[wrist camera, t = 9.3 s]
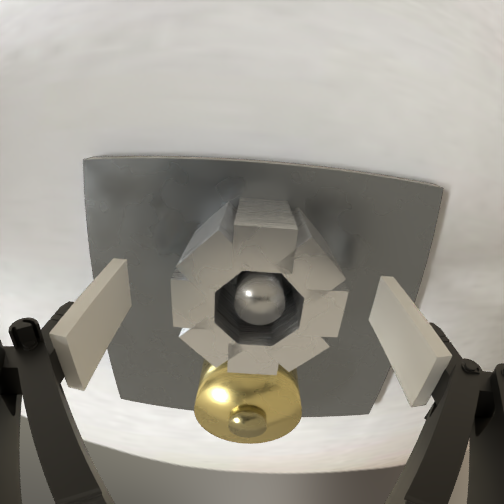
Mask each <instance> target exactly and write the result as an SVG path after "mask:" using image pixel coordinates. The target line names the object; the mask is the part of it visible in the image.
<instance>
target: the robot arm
mask: <svg viewBox="0 0 504 504" xmlns="http://www.w3.org/2000/svg"><path fill="white" fill-rule="evenodd" d="M131 306H132V303H131V295H130V287H129V278H128V268H127V259H116V258H113V259H112V260H111V262H110V263H109V264H108V265H107V266H106V267H105V268H104V269H103V270H102V271H101V273H100V274H99V275H98V276H97V277H96V278H95V279H94V280H93V282H92V283H91V284H90V285H89V286H88V287H87V288H86V290H85V291H84V292H83V293H82V294H81V295H80V296H79V298H78V299H77V300H76V301H75V302H70V301H69V302H68V303H66V304H64V305H63V306H61V307H60V308H59V309H58V310H57V311H56V313H55V315H53V316H52V317H51V320H49V321H48V322H47V323H46V324H45V326H44V327H43V328H42V329H40V326H39V323H38V321H37V320H35V319H34V318H22V319H19V320H17V321H15V322H14V323H12V325H11V326H10V327H9V334H10V337H11V339H12V342H13V345H14V346H3V345H2V343H1V340H0V504H22V499H21V488H20V487H21V486H20V466H19V465H20V463H19V437H20V415H21V401H22V395H23V399H24V404H25V409H26V413H27V417H28V421H29V425H30V429H31V433H32V437H33V440H34V443H35V447H36V450H37V453H38V457H39V460H40V463H41V466H42V469H43V472H44V475H45V477H46V480H47V483H48V485H49V488H50V490H51V493H52V496H53V498H54V501H55V503H56V504H115V502H114V501H113V499H112V497H111V495H110V494H109V492H108V490H107V488H106V486H105V485H104V483H103V481H102V479H101V477H100V475H99V473H98V471H97V469H96V467H95V465H94V463H93V461H92V459H91V457H90V455H89V453H88V451H87V449H86V446H85V444H84V442H83V440H82V437H81V435H80V433H79V430H78V428H77V425H76V423H75V421H74V418H73V416H72V413H71V410H70V408H69V405H68V402H67V400H66V397H65V394H64V391H63V388H62V386H61V384H60V383H61V382H62V380H63V378H64V377H65V380H66V382H67V385H68V387H70V388H74V389H78V390H82V391H84V390H85V388H86V387H87V385H88V383H89V381H90V379H91V377H92V375H93V373H94V371H95V369H96V368H97V366H98V364H99V362H100V360H101V358H102V357H103V355H104V353H105V351H106V349H107V348H108V346H109V344H110V342H111V340H112V339H113V337H114V335H115V333H116V332H117V330H118V328H119V326H120V325H121V323H122V321H123V319H124V318H125V316H126V314H127V313H128V311H129V309H130V308H131ZM369 322H370V324H371V326H372V327H373V329H374V331H375V333H376V335H377V337H378V339H379V341H380V343H381V345H382V347H383V349H384V351H385V353H386V355H387V357H388V359H389V361H390V364H391V366H392V368H393V370H394V372H395V374H396V376H397V378H398V380H399V382H400V385H401V387H402V389H403V391H404V393H405V395H406V398H407V400H408V402H409V404H410V406H411V407H416V406H423V405H426V404H427V402H428V400H429V398H430V397H431V395H432V397H433V399H434V400H435V402H434V404H433V405H432V407H431V409H430V410H429V412H428V413H427V415H426V416H425V418H424V419H426V422H425V424H424V426H423V429H422V431H421V433H420V436H419V438H418V440H417V442H416V445H415V447H414V449H413V451H412V453H411V455H410V457H409V459H408V461H407V463H406V465H405V467H404V469H403V471H402V473H401V475H400V477H399V479H398V481H397V483H396V484H395V486H394V488H393V490H392V491H391V493H390V495H389V497H388V498H387V500H386V502H385V504H448V502H449V499H450V497H451V494H452V491H453V489H454V486H455V483H456V480H457V477H458V474H459V471H460V468H461V465H462V462H463V459H464V455H465V452H466V448H467V445H468V441H469V437H470V458H469V484H468V498H467V504H504V364H498V365H497V366H496V367H495V369H494V371H493V372H485V371H482V369H481V368H480V366H479V365H478V364H477V363H476V362H474V361H472V360H469V359H462V357H461V356H460V355H459V353H458V352H457V350H456V349H455V348H454V346H453V345H452V344H451V342H449V339H448V338H447V337H445V336H446V335H445V334H444V333H443V331H442V330H441V329H440V328H439V327H438V326H436V325H435V324H434V323H429V322H428V321H427V320H426V318H425V317H424V316H423V314H422V313H421V312H420V310H419V309H418V308H417V306H416V305H415V304H414V302H413V301H412V300H411V299H410V297H409V296H408V295H407V293H406V292H405V291H404V290H403V288H402V287H401V286H400V285H399V283H398V282H397V281H396V280H395V278H394V277H390V276H381V277H380V281H379V284H378V288H377V292H376V296H375V299H374V303H373V306H372V310H371V313H370V317H369Z"/></svg>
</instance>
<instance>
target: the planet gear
mask: <svg viewBox="0 0 504 504" xmlns="http://www.w3.org/2000/svg"><path fill="white" fill-rule="evenodd" d="M241 271H256V272H270V273H282V274H283V276H284V277H285V278H286V279H287V280H288V282H287V283H285V284H284V285H283V290H284V297H285V309H284V311H283V313H282V315H281V316H280V317H279V318H278V319H277V320H275V321H274V322H272V323H269V324H265V325H254V324H250V323H248V322H246V321H244V320H243V319H241V318H240V317H239V315H238V314H237V312H236V310H235V306H234V301H235V293H236V287H235V286H234V285H233V284H232V283H231V282H230V280H231V279H233V278H234V277H235V276H236V275H238V274H239V273H240V272H241ZM170 280H171V299H172V315H173V327H180V328H182V330H181V333H180V336H179V338H181V339H182V340H183V341H184V342H185V343H186V344H188V345H189V346H190V347H191V348H192V349H194V350H195V351H196V352H197V353H198V354H199V355H201V356H202V357H203V358H204V359H206V360H207V361H208V362H209V363H210V364H212V365H213V366H214V367H215V368H216V367H218V366H219V365H221V364H223V363H224V362H226V361H227V360H228V366H227V372H231V373H245V374H262V375H277V371H278V365H279V364H280V365H281V366H282V367H283V368H285V369H286V370H287V371H288V372H290V371H292V370H293V369H295V368H297V367H298V366H300V365H302V364H303V363H305V362H307V361H308V360H310V359H311V358H313V357H315V356H316V355H318V354H319V353H321V352H322V351H324V350H326V349H327V348H329V347H330V345H329V341H328V338H327V337H338V333H339V329H340V325H341V321H342V317H343V313H344V309H345V305H346V301H347V297H348V293H349V291H348V289H347V287H346V285H345V283H344V280H346V278H345V276H344V274H343V272H342V270H341V268H340V267H339V265H338V263H337V261H336V259H335V257H334V255H333V253H332V252H331V250H330V248H329V246H328V244H327V242H326V241H325V239H324V238H323V237H322V235H321V234H320V233H319V232H318V230H317V229H316V228H315V227H314V226H313V224H312V223H311V222H310V221H309V219H308V218H307V217H306V216H305V215H304V213H303V212H302V211H301V210H300V209H299V207H296V208H295V209H294V210H293V211H291V209H290V207H289V204H288V201H281V200H268V199H255V198H241V197H240V201H239V205H238V209H236V208H235V207H234V206H233V205H232V204H231V203H230V202H227V203H226V204H225V205H224V206H223V207H222V208H221V209H219V210H218V211H217V212H216V213H215V214H214V215H213V216H211V217H210V218H209V219H208V220H207V221H206V222H205V223H203V224H202V225H201V226H200V227H199V228H198V229H197V230H196V231H195V233H194V234H193V236H192V238H191V240H190V242H189V243H188V245H187V247H186V249H185V251H184V252H183V254H182V256H181V258H180V260H179V262H178V264H177V265H176V270H175V271H174V273H173V275H172V277H171V279H170Z"/></svg>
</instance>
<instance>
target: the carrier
mask: <svg viewBox="0 0 504 504" xmlns="http://www.w3.org/2000/svg"><path fill="white" fill-rule="evenodd" d="M83 174H84V194H85V209H86V221H87V231H88V241H89V249H90V257H91V265H92V271H93V278H94V279H95V278H96V277H97V276H98V275H99V274H100V273H101V271H102V270H103V269H104V268H105V267H106V266H107V265H108V264H109V263H110V262H111V260H112V259H113V258H116V259H127V268H128V278H129V287H130V295H131V303H132V306H131V308H130V309H129V311H128V313H127V314H126V316H125V318H124V319H123V321H122V323H121V325H120V326H119V328H118V330H117V332H116V333H115V335H114V337H113V339H112V340H111V342H110V344H109V346H108V348H107V349H108V353H109V357H110V361H111V365H112V369H113V373H114V377H115V380H116V384H117V387H118V391H119V394H120V397H121V399H125V400H130V401H135V402H140V403H146V404H152V405H158V406H164V407H171V408H178V409H185V410H193V411H194V413H195V417H196V419H197V421H198V422H199V424H200V425H201V426H202V427H203V428H204V429H205V430H206V431H208V432H209V433H211V434H213V435H214V436H217V437H219V438H221V439H224V440H227V441H231V442H237V443H250V444H252V443H263V442H268V441H272V440H275V439H278V438H280V437H282V436H284V435H286V434H288V433H289V432H291V431H292V430H293V429H294V428H295V427H296V426H297V425H298V423H299V421H300V419H301V417H325V416H348V415H363V414H369V412H370V410H371V408H372V406H373V404H374V402H375V400H376V398H377V396H378V394H379V391H380V389H381V387H382V385H383V383H384V380H385V378H386V376H387V373H388V371H389V369H390V366H391V364H390V361H389V359H388V357H387V355H386V353H385V351H384V349H383V347H382V345H381V343H380V341H379V339H378V337H377V335H376V333H375V331H374V329H373V327H372V326H371V324H370V322H369V317H370V313H371V310H372V306H373V303H374V299H375V296H376V292H377V288H378V284H379V281H380V277H381V276H390V277H394V278H395V280H396V281H397V282H398V283H399V285H400V286H401V287H402V288H403V290H404V291H405V292H406V293H407V295H408V296H409V297H410V299H411V300H412V301H413V302H415V299H416V296H417V293H418V290H419V286H420V283H421V280H422V277H423V273H424V270H425V266H426V263H427V259H428V255H429V251H430V247H431V244H432V240H433V235H434V231H435V227H436V222H437V218H438V213H439V209H440V204H441V199H442V193H443V188H442V187H440V186H438V185H435V184H432V183H426V182H421V181H416V180H411V179H405V178H399V177H393V176H387V175H381V174H375V173H368V172H361V171H354V170H347V169H339V168H332V167H323V166H315V165H306V164H296V163H285V162H274V161H262V160H248V159H232V158H213V157H185V156H108V157H90V158H87V159H83ZM240 197H241V198H255V199H268V200H281V201H288V204H289V207H290V209H291V211H293V210H294V209H295V208H296V207H299V209H300V210H301V211H302V212H303V213H304V215H305V216H306V217H307V218H308V219H309V221H310V222H311V223H312V224H313V226H314V227H315V228H316V229H317V230H318V232H319V233H320V234H321V235H322V237H323V238H324V239H325V241H326V242H327V244H328V246H329V248H330V250H331V252H332V253H333V255H334V257H335V259H336V261H337V263H338V265H339V267H340V268H341V270H342V272H343V274H344V276H345V278H346V280H344V283H345V285H346V287H347V289H348V291H349V293H348V297H347V301H346V305H345V309H344V313H343V317H342V321H341V325H340V329H339V333H338V337H327V338H328V341H329V345H330V347H329V348H327V349H326V350H324V351H322V352H321V353H319V354H318V355H316V356H315V357H313V358H311V359H310V360H308V361H307V362H305V363H303V364H302V365H300V366H298V367H297V368H295V369H293V370H292V371H290V372H288V371H287V370H286V369H285V368H283V367H282V366H281V365H280V364H279V365H278V371H277V375H262V374H245V373H231V372H227V366H228V360H227V361H226V362H224V363H223V364H221V365H219V366H218V367H216V368H215V367H214V366H213V365H212V364H210V363H209V362H208V361H207V360H206V359H204V358H203V357H202V356H201V355H199V354H198V353H197V352H196V351H195V350H194V349H192V348H191V347H190V346H189V345H188V344H186V343H185V342H184V341H183V340H182V339H181V338H179V336H180V333H181V330H182V328H180V327H173V315H172V299H171V280H170V279H171V277H172V275H173V273H174V271H175V270H176V265H177V264H178V262H179V260H180V258H181V256H182V254H183V252H184V251H185V249H186V247H187V245H188V243H189V242H190V240H191V238H192V236H193V234H194V233H195V231H196V230H197V229H198V228H199V227H200V226H201V225H202V224H203V223H205V222H206V221H207V220H208V219H209V218H210V217H211V216H213V215H214V214H215V213H216V212H217V211H218V210H219V209H221V208H222V207H223V206H224V205H225V204H226V203H227V202H230V203H231V204H232V205H233V206H234V207H235V208H236V209H238V205H239V201H240ZM230 282H231V283H232V284H233V285H234V286H235V287H236V293H235V301H234V306H235V310H236V312H237V314H238V315H239V317H240V318H241V319H243V320H244V321H246V322H248V323H250V324H254V325H265V324H269V323H272V322H274V321H275V320H277V319H278V318H279V317H280V316H281V315H282V313H283V311H284V309H285V297H284V290H283V285H284V284H285V283H287V282H288V280H287V279H286V278H285V277H284V276H283V274H282V273H270V272H256V271H241V272H240V273H239V274H238V275H236V276H235V277H234V278H233V279H231V280H230Z"/></svg>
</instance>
